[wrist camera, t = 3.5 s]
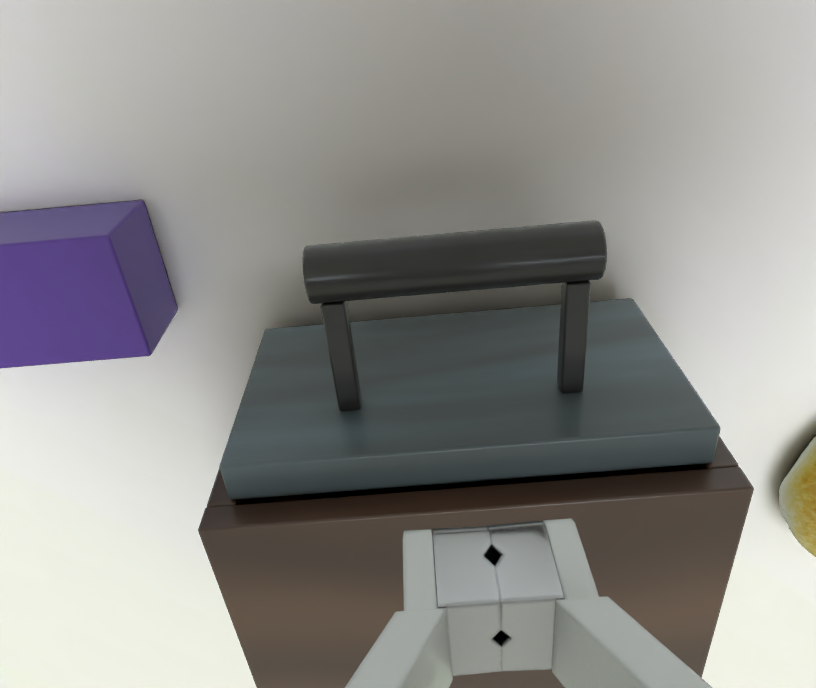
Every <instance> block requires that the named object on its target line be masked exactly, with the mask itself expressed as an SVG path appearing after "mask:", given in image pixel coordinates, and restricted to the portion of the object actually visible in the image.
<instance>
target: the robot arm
mask: <svg viewBox="0 0 816 688" xmlns="http://www.w3.org/2000/svg"><path fill="white" fill-rule="evenodd" d="M403 588H404V611H397V612H395V613H394V615H393V616H392V618H391V619H390V621H389V622H388V624H387V625H386V627H385V628H384V630H383V631H382V633H381V634H380V636H379V637H378V639H377V640H376V642H375V643H374V645H373V646H372V648H371V649H370V651H369V652H368V654H367V655H366V657H365V658H364V660H363V661H362V663H361V664H360V666H359V667H358V669H357V670H356V672H355V673H354V675H353V676H352V678H351V679H350V681H349V682H348V684H347V685H346V687H345V688H449V687H450V685H451V683H452V680H453V676H459V675H469V674H480V673H490V672H500V671H523V670H547V669H552V672H553V674H554V675H555V676H556V677H557V678H558V680H559V681H560V682H561V683H562V685H563V686H564V687H565V688H712V687H711V686H710V685H709V684H708V683H707V682H705V681H704V680H703V679H702V678H701V677H700V676H699V675H697V674H696V673H695V672H694V671H693V670H692V669H691V668H689V667H688V666H687V665H686V664H685V663H684V662H682V661H681V660H680V659H679V658H678V657H677V656H676V655H674V654H673V653H672V652H671V651H670V650H669V649H668V648H666V647H665V646H664V645H663V644H662V643H661V642H660V641H658V640H657V639H656V638H655V637H654V636H653V635H652V634H650V633H649V632H648V631H647V630H646V629H645V628H644V627H642V626H641V625H640V624H639V623H638V622H637V621H636V620H634V619H633V618H632V617H631V616H630V615H629V614H627V613H626V612H625V611H624V610H623V609H622V608H621V607H619V606H618V605H617V604H616V603H615V602H614V601H613V600H611V599H610V598H609V597H608V596H607V597H599V595H598V592H597V589H596V586H595V582H594V579H593V576H592V573H591V570H590V567H589V564H588V561H587V558H586V555H585V552H584V549H583V546H582V543H581V540H580V537H579V533H578V530H577V527H576V524H575V522H574V521H573V520H572V519H571V518H569V519H557V520H544V521H543V522H542V521H541V520H540V521H529V522H518V523H506V524H495V525H487V526H476V527H456V528H435V529H433V535H432V529H424V530H406V531H404V533H403Z"/></svg>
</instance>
